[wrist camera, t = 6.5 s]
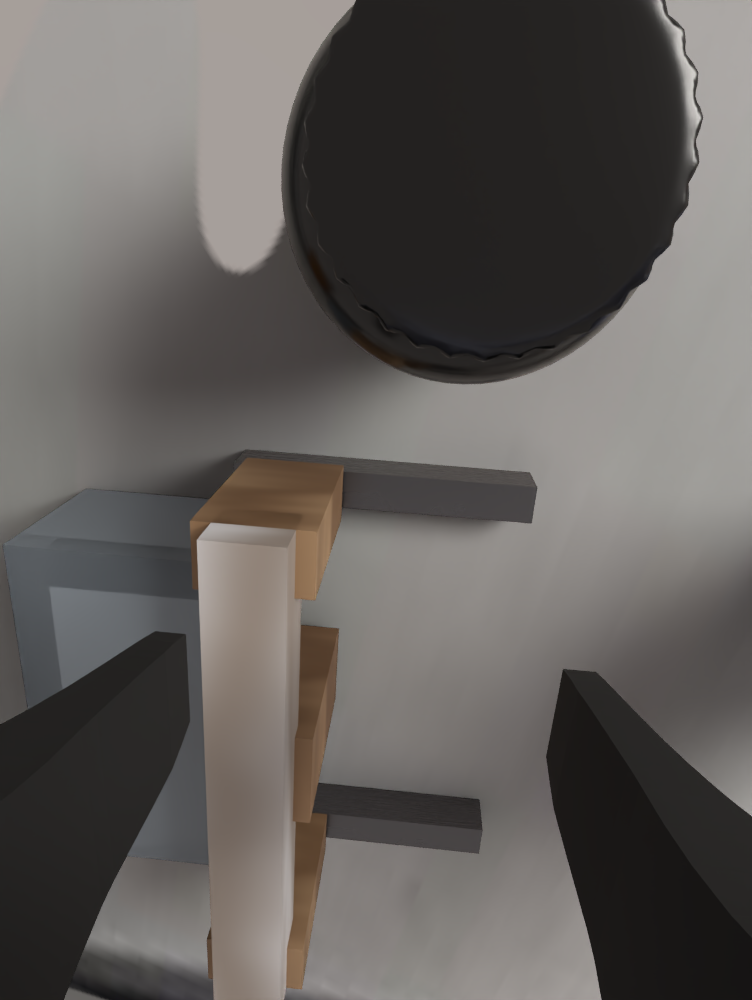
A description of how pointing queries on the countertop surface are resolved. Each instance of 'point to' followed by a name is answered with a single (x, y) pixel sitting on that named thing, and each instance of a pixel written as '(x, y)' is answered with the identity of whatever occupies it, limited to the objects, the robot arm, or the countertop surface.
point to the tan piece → (264, 715)
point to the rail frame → (430, 494)
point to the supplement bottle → (487, 175)
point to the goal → (116, 624)
